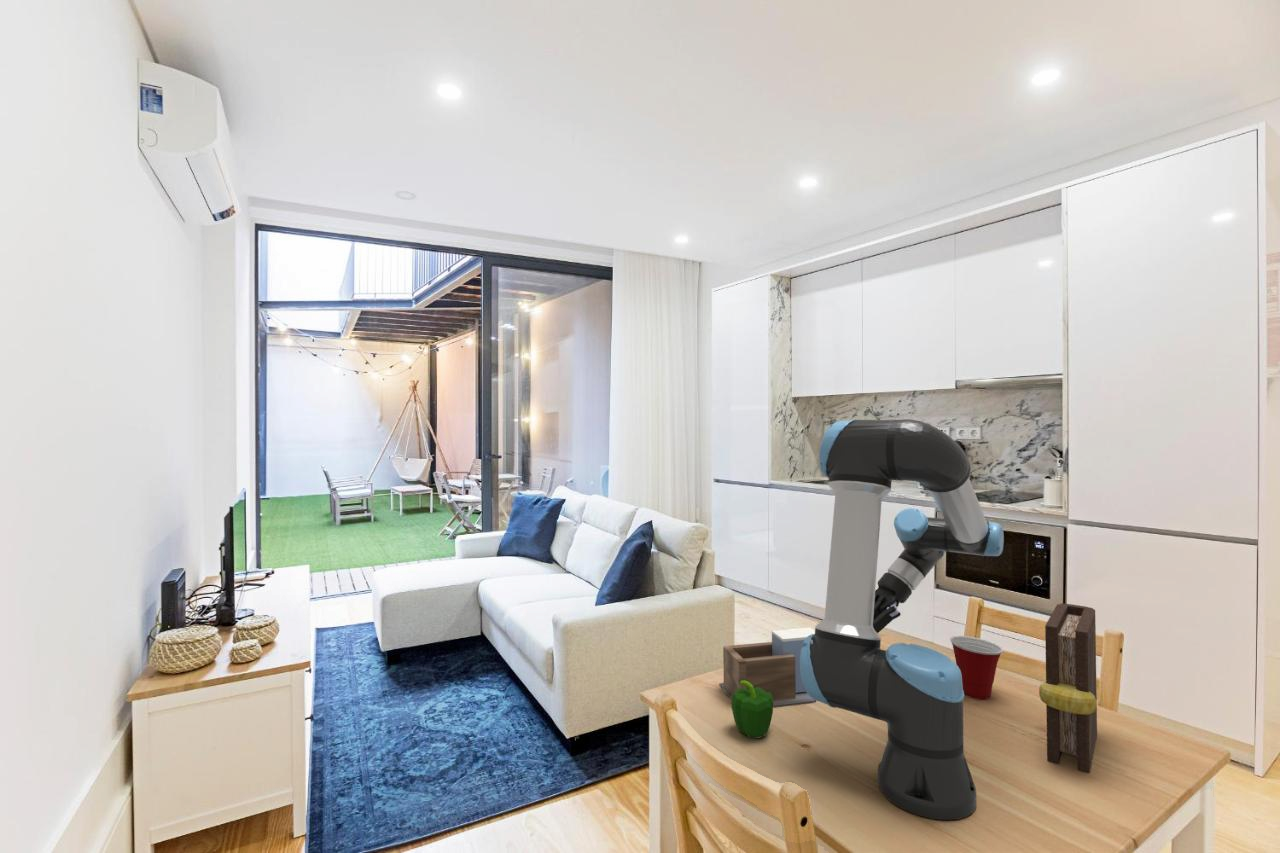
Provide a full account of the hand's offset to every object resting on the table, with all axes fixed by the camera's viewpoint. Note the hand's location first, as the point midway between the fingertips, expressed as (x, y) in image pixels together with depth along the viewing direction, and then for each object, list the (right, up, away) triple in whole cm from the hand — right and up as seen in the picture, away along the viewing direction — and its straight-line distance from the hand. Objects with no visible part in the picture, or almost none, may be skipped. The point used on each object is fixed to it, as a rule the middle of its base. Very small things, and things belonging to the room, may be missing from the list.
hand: (839, 655), depth 146 cm
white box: (-11, -6, -3) cm, 13 cm away
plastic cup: (+30, -7, -6) cm, 31 cm away
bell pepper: (-25, -7, -22) cm, 34 cm away
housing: (-18, -7, -4) cm, 20 cm away
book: (+35, -7, -30) cm, 46 cm away
